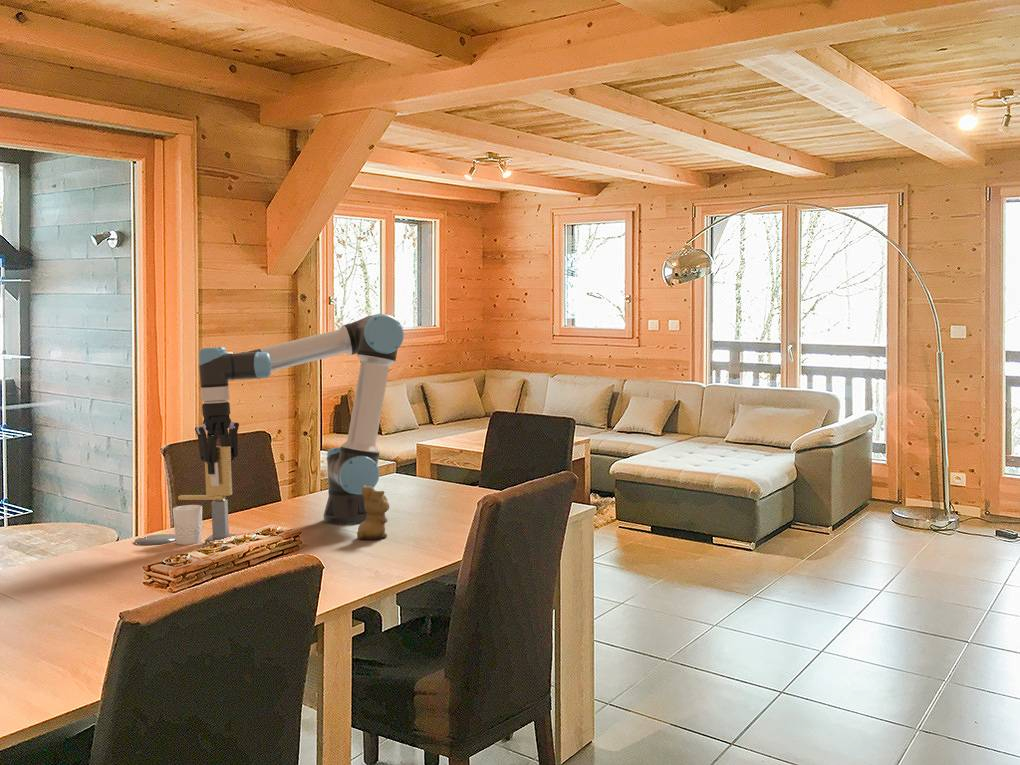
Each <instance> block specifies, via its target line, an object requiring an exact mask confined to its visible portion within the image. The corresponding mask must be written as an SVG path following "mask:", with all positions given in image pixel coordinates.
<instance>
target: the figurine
mask: <svg viewBox="0 0 1020 765" xmlns="http://www.w3.org/2000/svg"><path fill="white" fill-rule="evenodd" d="M362 494H363V496H364V498H365V503H364V508H365V511H366V512H367V515H366V519H365V520H364V521H363V522H362V523H359V525H358V530H357V532H356V535H357V536H356V538H358V540H360V541H361V540H364V541H378V540H383V539H386V538H387V536H388V534H387V532H386V523H387V522H388V521H389V519H388V517H387V515H386V513H387V512H388V511H389V509H390V504H389V503H390V502H388V498H387V496H386V495H385V491H384V490H375V487H374V488H373V487H370V486H368V487H367V486H366V485H364V486H363V488H362Z"/></svg>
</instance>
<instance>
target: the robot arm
mask: <svg viewBox="0 0 1020 765" xmlns="http://www.w3.org/2000/svg"><path fill="white" fill-rule="evenodd" d="M404 335H405V334H404V329H403V325H402V324H401V322H400V321H399V320H398V319H396V318H395V317H394V316H392V315H390V314H386V313H376V314H371V315H369V316H365V317H363V318H361V319H358V320H356V321H352V322H351V323H350V322H349V323H346V324H343V325H341V327H340V328H338V329H336V330H332V331H328V332H323V333H319V334H316V335H315V334H314V335H311V336H306V337H302V338H298V339H295V340H290V341H286V342H282V343H278V344H273V345H270V346H265V347H261V348H258V349H257V348H256V349H252V350H249V351H243V352H238V353H228V351H227V349H226V347H224V346H221V347H220V346H217V347H214V346H213V347H202V348H201V349H199V351H198V368H199V370H198V372H199V381H200V395H201V396H200V397H201V401H202V405H201V411H202V412H201V413H202V414H201V415H202V416H203V421H202V424H201V425H199V426H196V427H195V428H194V431H195V433H196V435H197V441H198V443H197V444H198V449H199V450H198V451H199V458H200V461H201V462H204V463H205V462H206V463H207V464H208V474H210V478H211V486H219V475H218V463H215V456H216V446H217V440H218V438H219V441H220V442H219V443H220V446H231V472H233V461H234V459H235V458H237V457H238V454H239V453H238V451H239V449H238V444H239V443H238V439H239V438H238V430H239V427H240V423H239V422H234V421H232V419H231V417H230V415H231V403H230V402H229V400H230V389H229V381H234V380H253V379H257V380H258V379H259V380H260V379H265V378H269V377H270V376H271V374H272V372H274V371H275V372H276V371H278V370H282V369H286V368H290V367H294V366H298V365H303V364H307V363H311V362H315V361H318V360H319V361H320V360H323V359H327V358H331V357H332V358H333V357H335V356H339V355H344V354H347V355H349V356H352V355H356V356H357V357H358V359H359V361H360V367H359V371H358V372H359V373H358V376H357V384H356V388H355V394H354V395H355V396H354V400H353V405H352V409H351V410H352V412H351V417H350V423H349V428H348V429H349V430H348V434H347V439H346V441H345V442H343V443H342V444H340V447H331V448H329V449H328V450H327V453H326V454H327V455H326V463H327V484H328V485H327V486H328V487H327V488H328V490H327V491H328V497H327V502H326V504H325V508H324V512H323V522H324V523H326V524H330V525H353V524H361V523H362V522H363V521H364V520H365V519H366V515H367V512H366V511H365V508H364V503H365V498H364V496H363V494H362V488H363V486H364V485H366V486H367V487H368V486H370V487H373V488H374V489H375V487H376V486H377V485H378V482H379V479H380V468H379V466H378V464H379V457H380V450H379V448H378V447H377V440H378V439H377V438H378V434H379V433H378V432H379V428H380V422H381V416H382V410H383V406H384V400H385V394H386V388H387V382H388V376H389V370H390V367H391V366H392V365H394V364H395V363H396V360H397V355H398V350H399V348H400V347H401V346H402V344H403V341H404V338H405V337H404ZM203 402H204V403H203Z"/></svg>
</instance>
